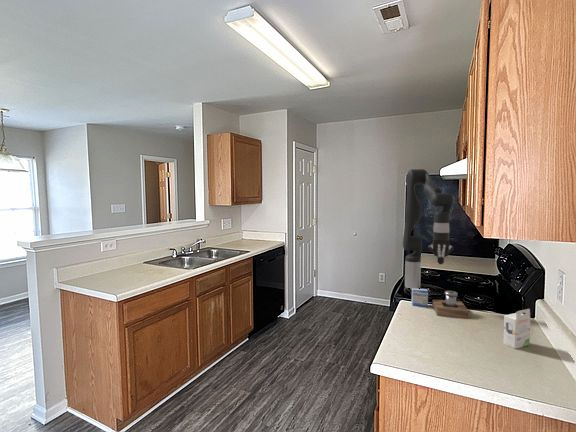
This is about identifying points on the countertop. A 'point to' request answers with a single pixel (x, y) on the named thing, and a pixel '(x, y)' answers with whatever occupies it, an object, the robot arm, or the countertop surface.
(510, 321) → the ink box
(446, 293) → the cylinder
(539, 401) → the countertop surface
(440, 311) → the jig
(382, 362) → the countertop surface
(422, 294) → the medicine box
